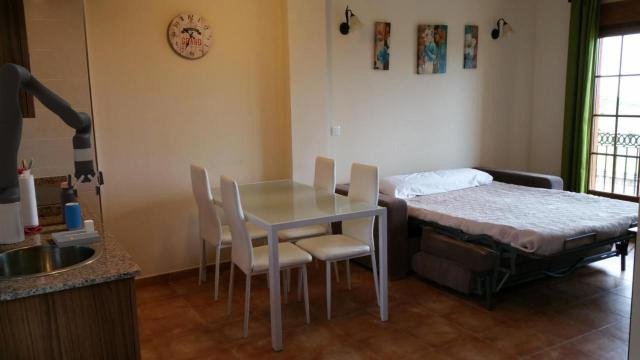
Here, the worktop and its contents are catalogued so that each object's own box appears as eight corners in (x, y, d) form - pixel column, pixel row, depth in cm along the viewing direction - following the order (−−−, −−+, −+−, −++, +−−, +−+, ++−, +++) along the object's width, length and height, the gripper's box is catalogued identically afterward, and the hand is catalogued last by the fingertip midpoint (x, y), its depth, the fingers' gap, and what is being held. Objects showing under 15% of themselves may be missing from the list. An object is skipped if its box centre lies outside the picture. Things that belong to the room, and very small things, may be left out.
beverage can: (84, 227, 247) (82, 202, 246) (76, 230, 241) (74, 205, 239) (71, 227, 248) (69, 202, 246) (63, 230, 242) (61, 205, 240)
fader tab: (86, 233, 223) (86, 222, 223) (84, 231, 227) (84, 220, 226) (94, 232, 225) (93, 221, 224) (92, 230, 228) (91, 219, 228)
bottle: (59, 223, 256) (55, 183, 253) (69, 220, 262) (66, 181, 259) (70, 224, 254) (67, 183, 251) (80, 221, 260) (77, 181, 257)
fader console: (59, 247, 212) (58, 239, 212) (52, 238, 227) (51, 231, 226) (100, 241, 221) (99, 233, 221) (91, 233, 236) (90, 225, 235)
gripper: (66, 161, 214) (71, 199, 217) (102, 158, 223) (106, 195, 225) (63, 160, 220) (67, 197, 223) (98, 157, 229) (102, 193, 231)
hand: (87, 196), depth 224 cm, fingers open, 8 cm apart
